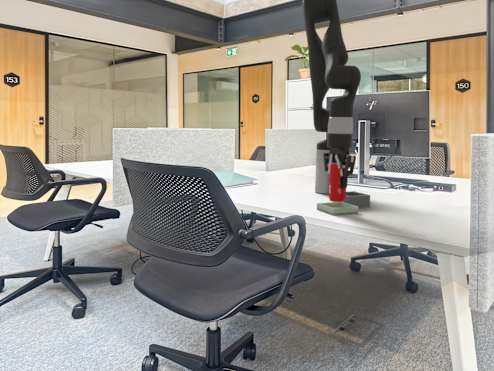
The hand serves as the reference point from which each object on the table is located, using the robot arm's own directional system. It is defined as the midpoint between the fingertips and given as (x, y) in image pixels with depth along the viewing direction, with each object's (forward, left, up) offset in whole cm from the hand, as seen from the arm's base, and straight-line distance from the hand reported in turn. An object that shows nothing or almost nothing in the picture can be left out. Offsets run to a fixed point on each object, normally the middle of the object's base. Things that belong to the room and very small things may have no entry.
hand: (337, 186), depth 129 cm
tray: (0, 0, -8) cm, 8 cm away
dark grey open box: (-10, -6, -8) cm, 14 cm away
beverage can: (0, 0, -5) cm, 5 cm away
